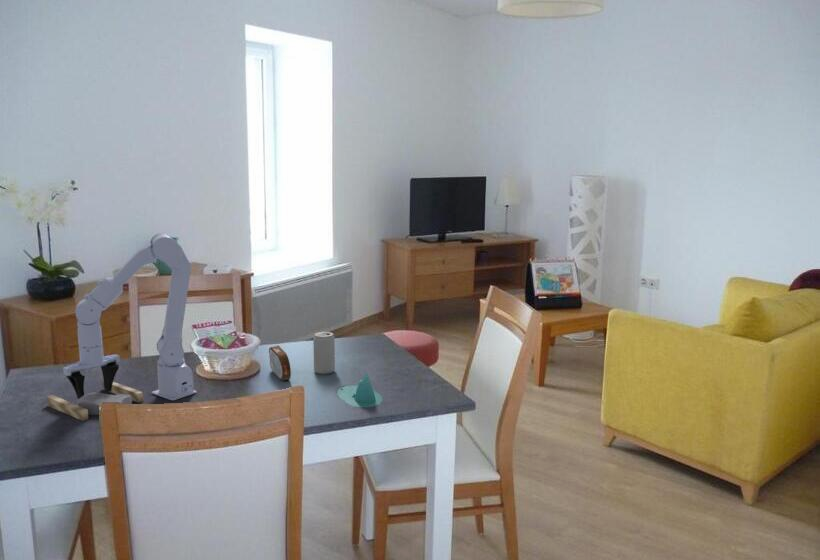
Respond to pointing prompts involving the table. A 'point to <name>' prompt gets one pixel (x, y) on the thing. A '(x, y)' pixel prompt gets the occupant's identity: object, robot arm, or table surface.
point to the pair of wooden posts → (82, 412)
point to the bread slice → (279, 363)
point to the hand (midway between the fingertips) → (94, 394)
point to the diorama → (360, 394)
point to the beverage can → (324, 352)
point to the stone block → (100, 401)
